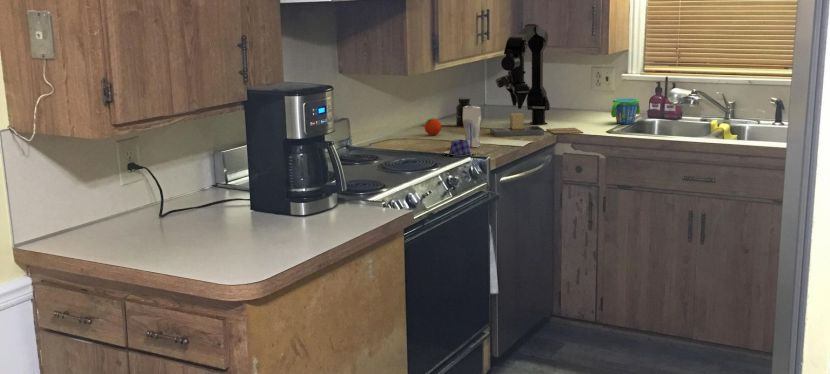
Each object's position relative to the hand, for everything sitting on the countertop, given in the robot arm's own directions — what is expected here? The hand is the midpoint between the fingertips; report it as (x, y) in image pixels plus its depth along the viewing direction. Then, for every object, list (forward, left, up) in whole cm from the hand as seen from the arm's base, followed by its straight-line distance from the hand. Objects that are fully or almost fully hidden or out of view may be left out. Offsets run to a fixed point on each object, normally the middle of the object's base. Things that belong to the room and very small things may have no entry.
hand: (516, 107), depth 368 cm
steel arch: (0, 0, -11) cm, 11 cm away
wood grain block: (0, 0, -11) cm, 11 cm away
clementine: (-5, -34, -11) cm, 36 cm away
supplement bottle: (-26, -17, -11) cm, 33 cm away
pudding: (+39, -30, -11) cm, 51 cm away
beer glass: (+25, -23, -11) cm, 36 cm away
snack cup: (-15, +51, -11) cm, 54 cm away
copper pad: (0, +20, -11) cm, 23 cm away
